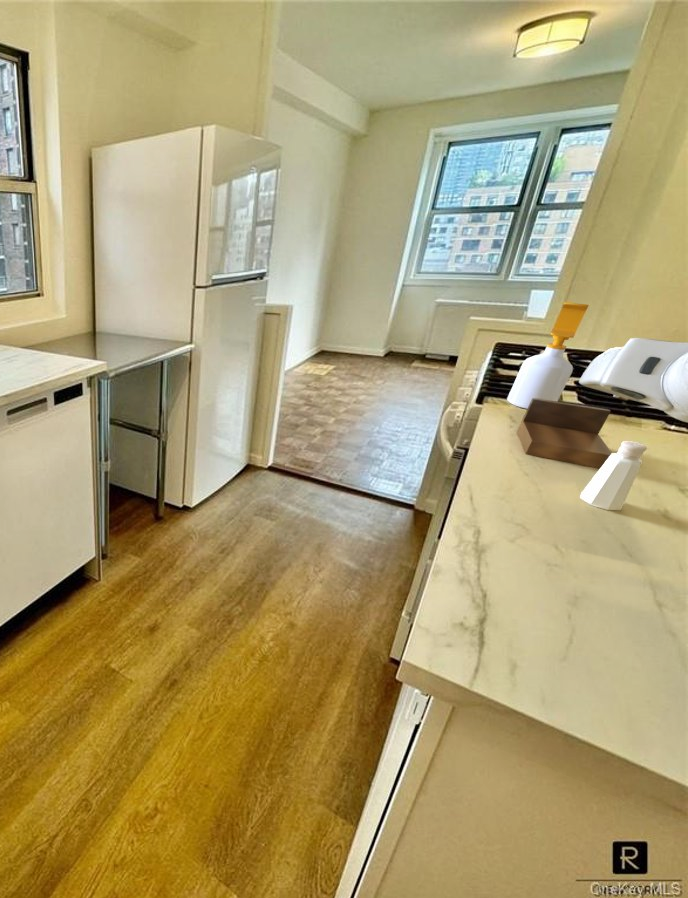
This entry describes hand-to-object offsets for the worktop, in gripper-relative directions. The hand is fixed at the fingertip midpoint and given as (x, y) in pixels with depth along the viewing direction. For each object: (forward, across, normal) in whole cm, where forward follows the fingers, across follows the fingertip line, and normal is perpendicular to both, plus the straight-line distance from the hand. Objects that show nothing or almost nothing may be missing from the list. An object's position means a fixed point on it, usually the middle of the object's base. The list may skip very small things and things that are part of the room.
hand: (667, 406), depth 66 cm
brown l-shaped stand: (+35, +4, +5) cm, 36 cm away
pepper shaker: (+17, -3, +14) cm, 22 cm away
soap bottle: (+59, +11, -7) cm, 60 cm away
